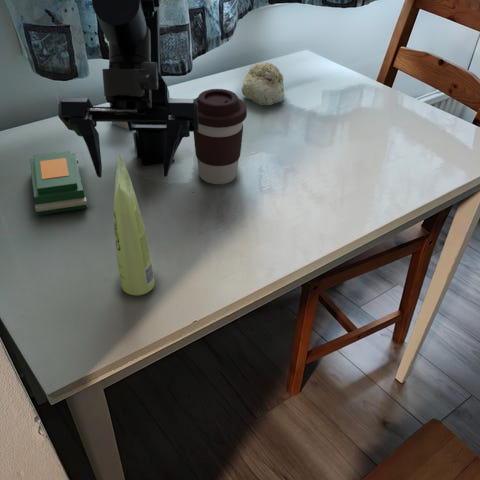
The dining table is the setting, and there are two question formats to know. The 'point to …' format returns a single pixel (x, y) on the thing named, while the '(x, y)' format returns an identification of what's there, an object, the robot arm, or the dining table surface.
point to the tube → (130, 237)
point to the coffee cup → (219, 135)
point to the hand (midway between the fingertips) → (132, 176)
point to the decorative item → (264, 84)
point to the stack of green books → (57, 183)
